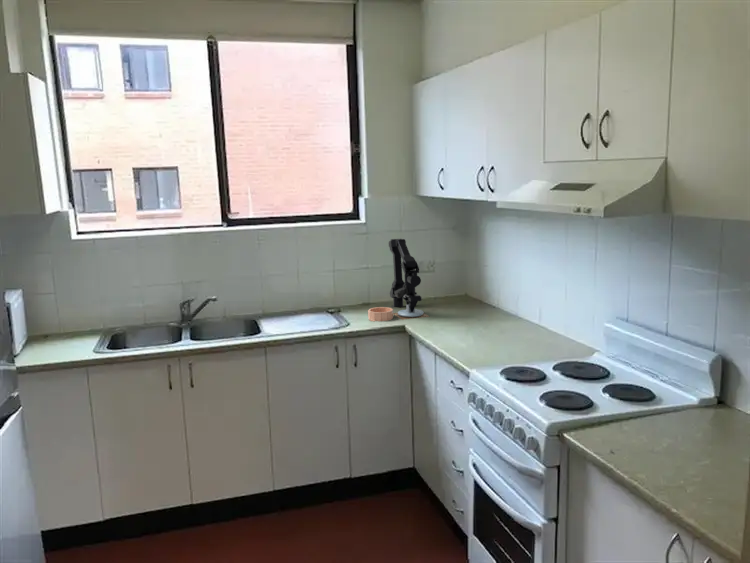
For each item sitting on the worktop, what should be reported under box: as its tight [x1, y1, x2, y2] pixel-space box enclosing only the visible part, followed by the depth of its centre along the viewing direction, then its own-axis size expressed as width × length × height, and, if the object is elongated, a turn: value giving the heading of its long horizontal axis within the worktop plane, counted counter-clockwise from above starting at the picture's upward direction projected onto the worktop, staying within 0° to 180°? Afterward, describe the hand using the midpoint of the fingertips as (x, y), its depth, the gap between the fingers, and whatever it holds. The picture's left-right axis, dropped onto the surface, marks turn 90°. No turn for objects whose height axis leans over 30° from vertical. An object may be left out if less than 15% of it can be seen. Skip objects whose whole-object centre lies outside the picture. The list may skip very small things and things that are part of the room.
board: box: [393, 312, 430, 321], centre depth 341 cm, size 16×16×1 cm
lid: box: [397, 304, 425, 317], centre depth 340 cm, size 14×14×5 cm
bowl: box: [367, 306, 394, 322], centre depth 336 cm, size 13×13×5 cm
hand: (410, 311), depth 340 cm, fingers closed on lid, 3 cm apart
